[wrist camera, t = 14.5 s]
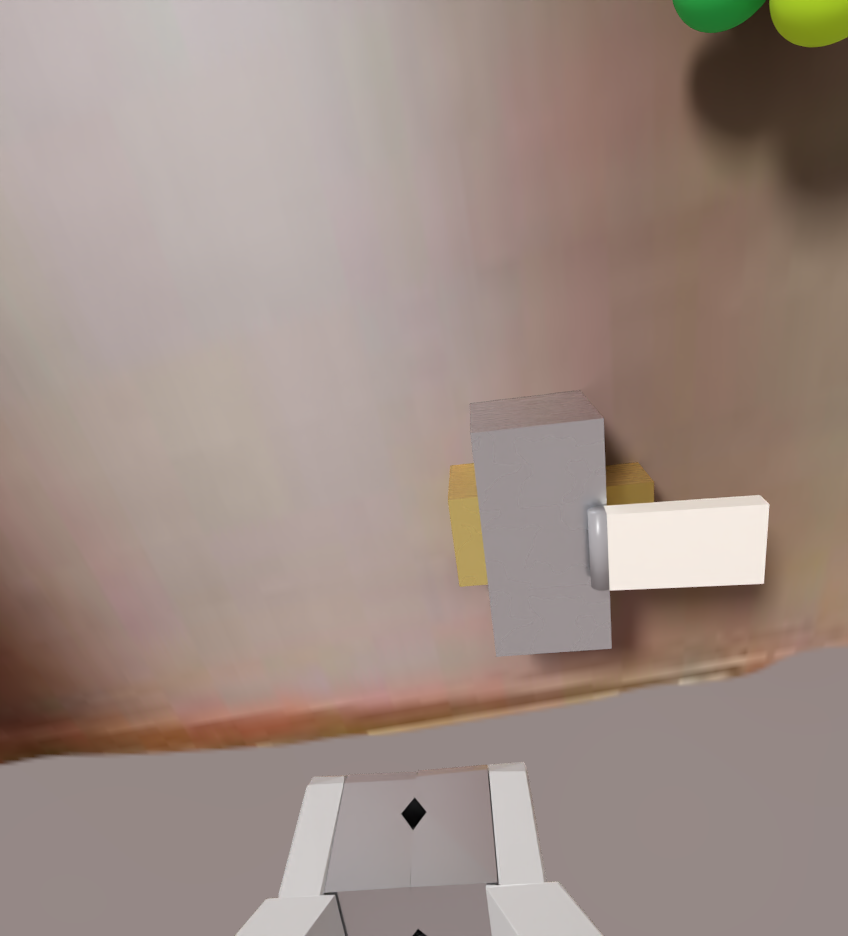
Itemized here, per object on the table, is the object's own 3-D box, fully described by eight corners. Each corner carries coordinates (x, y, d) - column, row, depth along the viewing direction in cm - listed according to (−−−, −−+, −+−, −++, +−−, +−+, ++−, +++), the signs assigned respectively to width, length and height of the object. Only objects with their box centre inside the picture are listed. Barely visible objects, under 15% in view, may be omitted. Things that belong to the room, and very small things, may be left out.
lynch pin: (460, 542, 35) (459, 586, 30) (450, 465, 33) (447, 499, 28) (638, 525, 34) (666, 569, 29) (637, 445, 32) (666, 478, 27)
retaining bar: (592, 591, 28) (763, 583, 26) (589, 516, 26) (769, 504, 25) (589, 580, 28) (754, 572, 27) (586, 507, 27) (759, 495, 26)
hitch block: (491, 597, 36) (496, 656, 30) (469, 403, 32) (470, 433, 26) (589, 589, 35) (611, 648, 30) (580, 390, 31) (603, 418, 26)
